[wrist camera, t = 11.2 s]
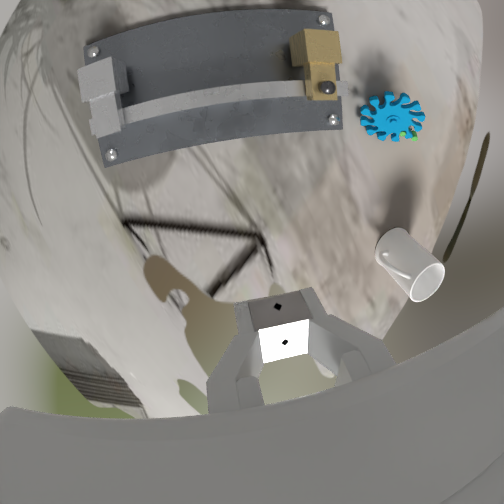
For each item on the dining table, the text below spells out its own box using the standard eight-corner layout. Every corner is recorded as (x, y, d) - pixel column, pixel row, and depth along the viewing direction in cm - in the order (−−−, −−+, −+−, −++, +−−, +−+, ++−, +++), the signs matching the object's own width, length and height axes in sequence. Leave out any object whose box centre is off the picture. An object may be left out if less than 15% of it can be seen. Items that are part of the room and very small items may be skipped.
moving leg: (285, 40, 27) (305, 28, 21) (314, 41, 27) (339, 30, 21) (292, 99, 31) (312, 100, 25) (320, 98, 32) (346, 100, 25)
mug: (354, 257, 48) (388, 298, 38) (376, 216, 44) (417, 252, 34) (394, 268, 52) (427, 305, 42) (415, 233, 48) (452, 266, 38)
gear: (345, 119, 33) (402, 86, 25) (342, 93, 35) (392, 61, 27) (389, 155, 39) (440, 133, 30) (384, 129, 40) (430, 107, 32)
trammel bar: (93, 76, 25) (69, 72, 19) (329, 42, 27) (355, 33, 21) (103, 134, 29) (82, 143, 23) (334, 98, 32) (362, 101, 26)
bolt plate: (86, 48, 23) (81, 46, 22) (327, 14, 26) (333, 11, 24) (107, 165, 33) (103, 169, 31) (338, 128, 36) (344, 130, 34)
